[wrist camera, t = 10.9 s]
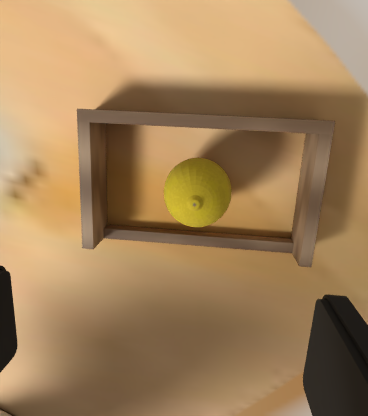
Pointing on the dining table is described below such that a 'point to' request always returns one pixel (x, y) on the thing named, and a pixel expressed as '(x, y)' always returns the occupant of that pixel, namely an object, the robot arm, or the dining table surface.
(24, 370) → the dining table surface
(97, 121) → the box
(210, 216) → the lemon
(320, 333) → the robot arm
